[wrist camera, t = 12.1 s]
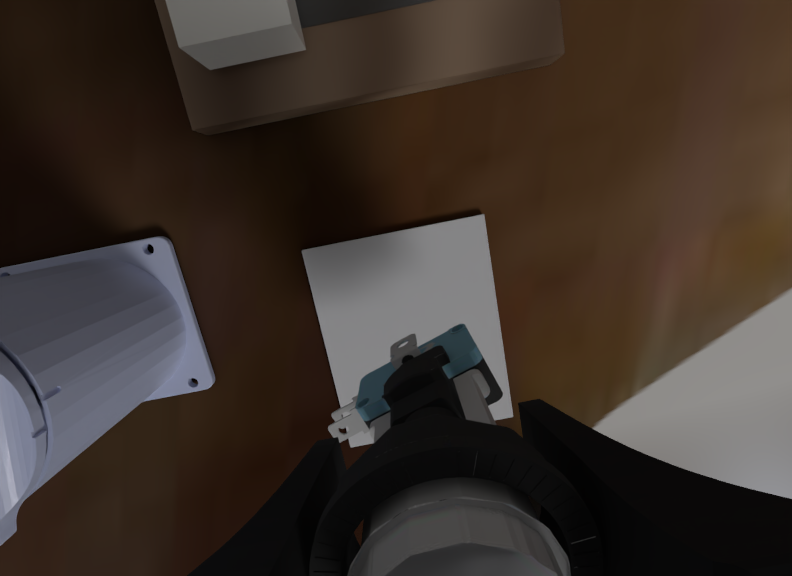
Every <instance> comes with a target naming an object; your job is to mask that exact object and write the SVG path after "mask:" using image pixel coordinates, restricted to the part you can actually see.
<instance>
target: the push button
mask: <svg viewBox="0 0 792 576" xmlns="http://www.w3.org/2000/svg"><path fill="white" fill-rule="evenodd" d="M405 342H408V343H407V344H406V345H404V346H402V347H400V348H398V347H399V346H400V345H401V344H403V343H405ZM390 357H391V359H390V361H391V362H389V363H387V364H385V365H383V366H381V367H380V368H378V369H376V370H374V371H372V372H370V373H368V374H367V375H365V376H364V377H363V378H362V379H361V381H360V386H359V392H358V395H357V396H355V397H353V398H352V400H353V402H351V403H349V404H348V405H346V406H344V407H342V408H340V409H338V410H336V411H334V412H333V413H332V417H333V419H334V420H335V422H334V423H333V424H331V425H329V427H328V430H329V432H330V433H331V434H332V436H333V437H334V438H336V437H338V439H339V443H340V442H342V441H344V440H346V439H348V438H350V437H351V436H353V435H355V434H357V433H359V432H361V431H363V432H364V434H365V433H367V432H369V433H370V436H371V437H372V439H373V440H374V444H373V445H372V446H371V447H370V448H369V449H368V450H367V451H366V452H365V453H364V454H363V455H362V456H361V457H360V458H359V459H358V460H357V461H356V462H355V463H354V464H353V465H352V466H351V467H350V468H349V469H348V470H347V471H346V472H345V473H344V474H343V475H342V476H341V478H340V480H339V484H338V489H337V491H336V492H335V493H334V495H333V496H332V497H331V499H330V500H329V502H328V504H327V506H326V507H325V509H324V511H323V513H322V516H321V518H320V520H319V523H318V526H317V530H316V533H315V537H314V541H313V546H312V550H311V557H310V565H309V576H602V574H603V549H602V543H601V538H600V534H599V531H598V528H597V526H596V523H595V521H594V519H593V517H592V515H591V513H590V511H589V509H588V508H587V506H586V504H585V503H584V501H583V500H582V498H581V496H580V495H579V493H578V492H577V491H576V489H575V488H574V486H573V485H572V484H571V483H570V481H569V480H568V479H567V478H566V477H565V476H564V475H563V474H562V473H561V472H560V471H559V470H557V469H556V468H555V467H554V466H553V465H552V464H550V463H549V462H547V461H546V460H545V459H544V457H543V456H542V455H541V454H540V453H539V452H538V451H537V450H536V449H535V448H533V447H532V446H531V445H530V444H529V443H528V442H526V441H525V440H524V439H523V438H522V437H521V436H519V435H518V434H517V433H516V432H515V431H514V430H512V429H510V428H508V427H503V426H498V425H496V423H495V421H494V418H493V416H492V414H491V412H490V409H489V407H488V406H489V405H491V404H493V403H495V402H497V401H499V400H500V399H501V398H502V396H503V392H502V390H501V388H500V387H499V385H498V383H497V381H496V379H495V378H494V376H493V374H492V372H491V370H490V368H489V367H488V365H487V363H486V361H485V360H484V358H483V356H482V354H481V352H480V351H479V349H478V347H477V345H476V343H475V342H474V340H473V338H472V336H471V335H470V333H469V331H468V329H467V327H466V326H465V324H458V325H456V326H454V327H452V328H450V329H448V331H446V332H445V333H443V334H441V335H439V336H437V337H435V338H433V339H432V340H430V341H428V342H426V343H424V344H422V345H420V346H419V347H417V339H416V335H415V334H410V335H408V336H407V337H405V338H403V339H401V340H399V341H397V342H395V343H394V344H393V345H392V346H391V347H390ZM344 412H349V413H350V415H348V416H346V417H344V418H342V416H341V415H342V413H344ZM347 426H348V428H349V431H348V432H347V433H341V432H340V431H339V429H338V428H341V429H343V428H345V427H347ZM528 496H530V497H531V498H533V499H534V500H536V501H537V502H538V503H540V504H541V514H540V520H538V517H537V515H536V513H535V511H534V508H533V506H532V504H531V502H530V499H529V497H528ZM363 519H364V523H363V533H362V544H361V547H360V545H359V543H358V542H357V540H356V537H355V534H354V531H355V529H356V528H357V527H358V525H359V524H360V522H361V521H362V520H363Z"/></svg>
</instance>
